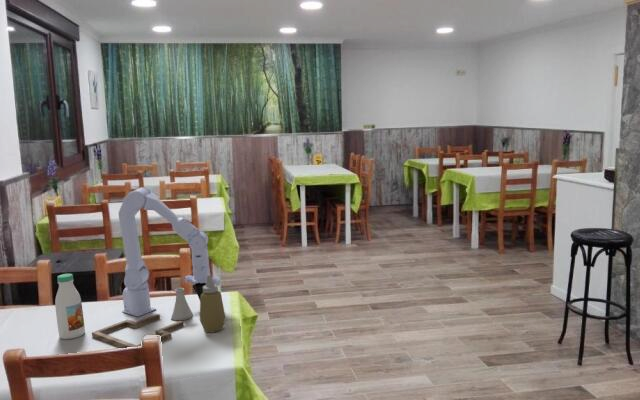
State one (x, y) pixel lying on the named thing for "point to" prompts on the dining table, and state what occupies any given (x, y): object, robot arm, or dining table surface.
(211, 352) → the dining table surface
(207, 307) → the squeeze bottle
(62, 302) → the milk bottle
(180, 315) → the flask
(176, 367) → the dining table surface
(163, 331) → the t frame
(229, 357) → the dining table surface
